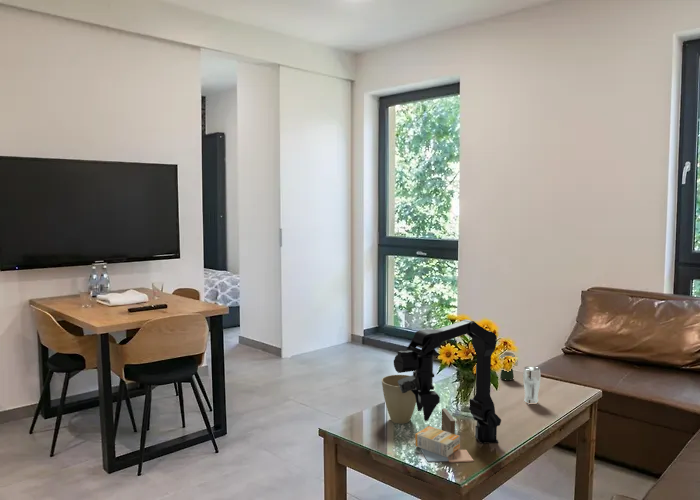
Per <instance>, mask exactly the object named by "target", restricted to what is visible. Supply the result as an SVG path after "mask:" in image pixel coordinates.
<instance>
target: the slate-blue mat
mask: <svg viewBox="0 0 700 500" xmlns="http://www.w3.org/2000/svg"><path fill="white" fill-rule="evenodd" d="M420 450H421V451H422V454H423V456H424V458H425V459H426V462H427V463H435V462H438V463H439V462H449V459H450V458H451V455H450V456H449V457H450V458H449V459H448V458H447V457H444V456H442V455H439V454H436V453H433V452H431V451H428V450H425V449H422V448H420ZM454 457H456V456H455V455H454V454H453V458H454Z"/></svg>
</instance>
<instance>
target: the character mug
mask: <svg viewBox="0 0 700 500" xmlns="http://www.w3.org/2000/svg"><path fill="white" fill-rule="evenodd" d="M504 352H505V353H504V354H502V355H501V356H500V357H501V358H503V357H505V356H512V357H515V358H516V353H514V352H512V351H511V352H510V351H504ZM500 357H499V358H500ZM515 364H516V365H515V366H513V368H515V367H516V366H518V364H519V360H518V359H517V362H516V361H515ZM513 368H512V369H511V371H509V372H507V371H504V370H500V377H499V378H500V379H501V378H502V379H506V380H505V381H511V380H510V379H513V378H514V375H515V374H514V370H513ZM502 379H501V380H502ZM514 379H515V378H514ZM514 379H513V380H514Z"/></svg>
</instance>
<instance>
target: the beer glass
mask: <svg viewBox="0 0 700 500" xmlns="http://www.w3.org/2000/svg"><path fill="white" fill-rule="evenodd" d="M522 381H523V389H524V399H523V402H524V401H525V402H527V403H537V402H538V401H539V390H540V387H541V386H540V385H541V369H540V368H539V367H537V366H532V365H530V366H529V365H528V366H524V367H523V374H522Z"/></svg>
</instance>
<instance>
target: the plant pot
mask: <svg viewBox="0 0 700 500" xmlns="http://www.w3.org/2000/svg"><path fill="white" fill-rule="evenodd" d="M408 376H410V375H407V374H391V375H390V374H389V375H387V376H386V375H385V376H384V377H382V378H381V385H382V392H383V397H384V402H385V405H386V409H387V413H388V415H389V416H388V417H389V418H390V420H391V422H392V423H395V424H397V425H398V424H399V425H400V424H401V425H402V424H404V425H405V424H408V423H410V421H411V419H412V416H413V414H414V411H415V409H416V406H417V404H416V399H415V394H414V393H413V392H412V391H411V390H410V391H407V392H406V393H402V392H401V390H400V387H399V384H398V380H400V379H403V378H406V377H408Z"/></svg>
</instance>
